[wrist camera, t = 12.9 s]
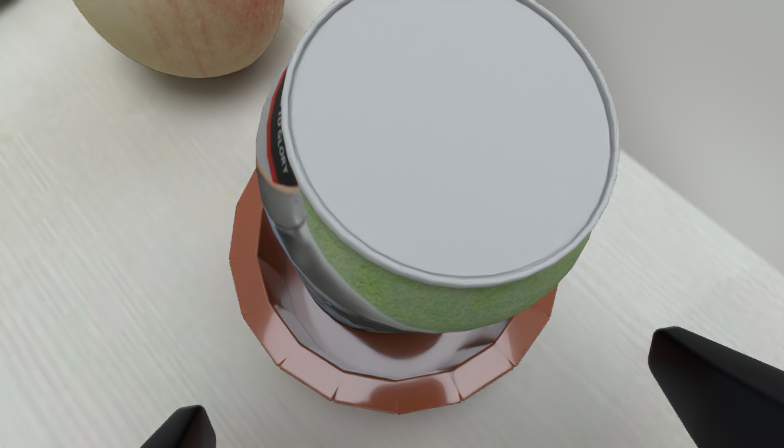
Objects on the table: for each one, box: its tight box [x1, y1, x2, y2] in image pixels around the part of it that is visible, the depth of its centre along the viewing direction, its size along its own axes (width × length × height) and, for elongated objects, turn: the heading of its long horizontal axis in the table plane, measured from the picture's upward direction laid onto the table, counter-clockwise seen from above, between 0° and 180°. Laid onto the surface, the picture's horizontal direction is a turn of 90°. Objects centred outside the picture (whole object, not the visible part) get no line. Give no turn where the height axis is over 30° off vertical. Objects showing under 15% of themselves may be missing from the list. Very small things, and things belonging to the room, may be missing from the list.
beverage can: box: [256, 0, 620, 334], centre depth 11 cm, size 6×7×12 cm
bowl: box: [229, 169, 558, 415], centre depth 15 cm, size 11×11×4 cm
